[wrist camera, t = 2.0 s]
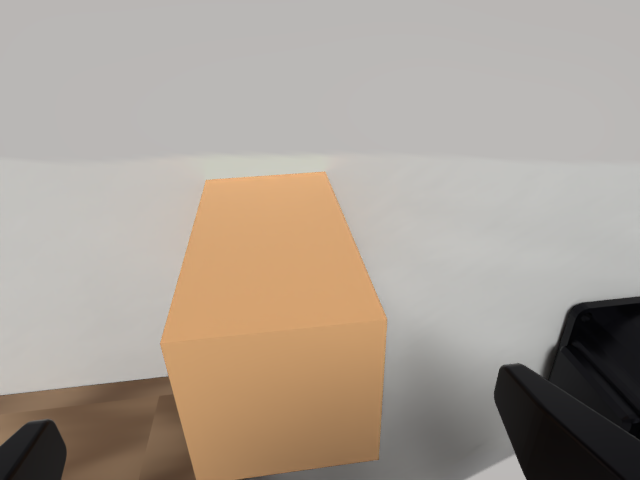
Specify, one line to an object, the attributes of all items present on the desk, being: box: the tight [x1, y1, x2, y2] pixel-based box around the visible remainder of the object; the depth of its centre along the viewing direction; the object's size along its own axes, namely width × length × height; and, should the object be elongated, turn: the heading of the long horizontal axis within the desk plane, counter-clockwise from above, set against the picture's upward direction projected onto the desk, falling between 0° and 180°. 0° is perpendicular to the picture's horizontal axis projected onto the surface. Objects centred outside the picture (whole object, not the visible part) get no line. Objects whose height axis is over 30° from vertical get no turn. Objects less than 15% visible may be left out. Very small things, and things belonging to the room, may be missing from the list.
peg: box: [160, 172, 387, 480], centre depth 12 cm, size 4×4×8 cm
